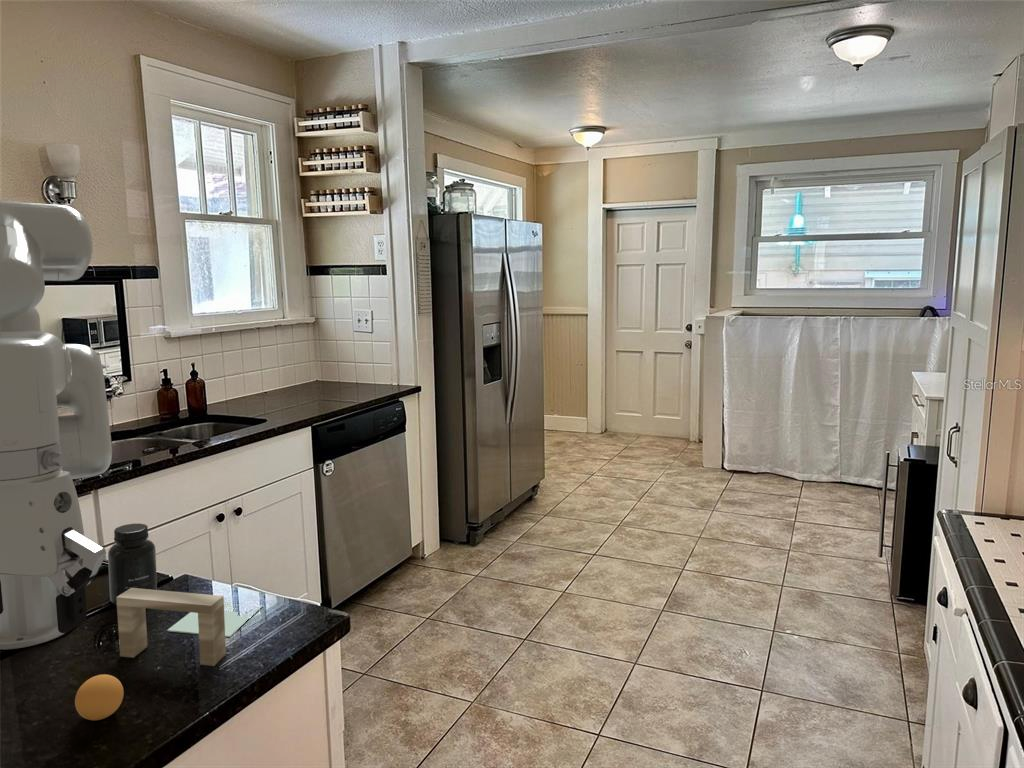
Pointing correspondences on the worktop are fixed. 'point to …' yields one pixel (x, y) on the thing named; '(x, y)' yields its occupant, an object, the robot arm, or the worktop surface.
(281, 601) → the worktop surface
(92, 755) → the worktop surface
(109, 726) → the worktop surface
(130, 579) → the supplement bottle
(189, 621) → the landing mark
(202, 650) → the bridge
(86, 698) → the ball
